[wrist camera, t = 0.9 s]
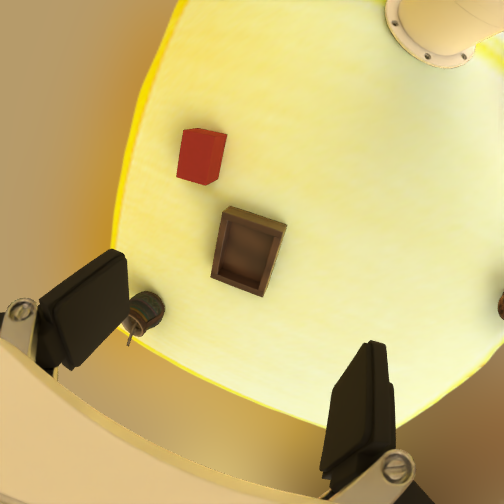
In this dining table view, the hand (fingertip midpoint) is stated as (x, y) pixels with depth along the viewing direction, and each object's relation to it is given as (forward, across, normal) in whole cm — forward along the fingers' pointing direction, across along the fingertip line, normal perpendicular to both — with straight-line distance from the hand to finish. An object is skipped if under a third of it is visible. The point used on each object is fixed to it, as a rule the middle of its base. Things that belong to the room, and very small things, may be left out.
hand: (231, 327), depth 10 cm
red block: (+29, +14, 0) cm, 32 cm away
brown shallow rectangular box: (+29, +6, +13) cm, 32 cm away
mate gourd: (+30, +22, +31) cm, 49 cm away
